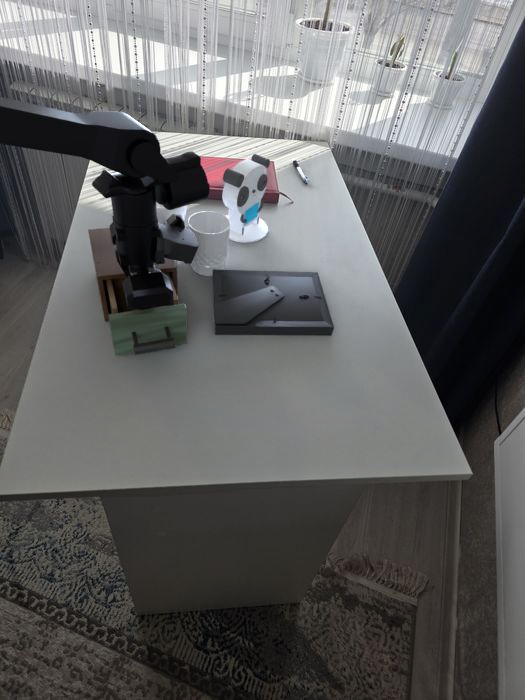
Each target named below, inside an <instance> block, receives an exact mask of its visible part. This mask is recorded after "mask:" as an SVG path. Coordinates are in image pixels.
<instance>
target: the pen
mask: <svg viewBox="0 0 525 700" xmlns="http://www.w3.org/2000/svg"><path fill="white" fill-rule="evenodd" d="M292 164H293V166H294V168H295V169H296V171H297V173H298V174H299V176H300V178H301V179H302V182H303V183H304V184H305V185H308V184H309V177H308V176H307V175H306V174H305V173H304V172H303V171H302V168H301V166H300V164H299V163H298V161H297V160H296V159H295V158H293V159H292Z"/></svg>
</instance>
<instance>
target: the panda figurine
mask: <svg viewBox="0 0 525 700" xmlns="http://www.w3.org/2000/svg"><path fill="white" fill-rule="evenodd" d="M270 165H271V160H270V159H269V158H267V157H264V156H262V155H260V154H256V153H253V154H252V156H251V158H250V159H247V158H246V159H243V160H241V161H239V162H238V163H236V164H235V165H234V166H233V167H232V168H226V169H225V170H224V171H223V174H222V181H223V182H224V184H223V188H222V202H223V204H224V206H225V207H226V208H228V214H227V215H225V216H226V217H227V218H228V219H229V220H230V222H231V227H230V235H229V241H233V242H237V243H243V244H244V243H246V244H247V243H255V242H259V241H261V240H263V239H264V238H266V237H267V235H268V232H269V228H268V225H267V223H266V222H265V221H264V220H263V219H262V218H260V212H261V211H262V209H263V207H264V204H265V203H264V199H263V197H264V195H265V192H266V189H267V186H268V178H269V177H268V168H269V167H270Z"/></svg>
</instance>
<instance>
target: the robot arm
mask: <svg viewBox="0 0 525 700" xmlns="http://www.w3.org/2000/svg"><path fill="white" fill-rule="evenodd" d="M0 145H3V146H4V145H5V146H10V147H17V148H23V149H30V150H35V151H42V152H48V153H54V154H60V155H66V156H72V157H77V158H78V157H79V158H83V159H86V160H88V161H91V162H93V163H95V164H98V165H99V166H102V167H104V169H103V170H102V171H101V173H100V174H99V175H98V176H97V177H95V179H94V180H93V181H92V182H91V186H92V188H94V189H95V190H96V191H97V192H98V193H99V194H100V195H101V196H102V197H103V198H105V199H110V202H111V209H112V216H111V217H112V222H111V223H110V224H109V225H108V226H109V227H108V228H110V234H111V239H112V243H113V245H116V248H117V250H115V254H116V258H117V262H118V263H119V265H120V267H121V269H122V270H123V272H124V274H125V275H126V277H127V278H126V279H125V280H124V281H123V282H122V283H123V288H124V292H125V297H126V301H127V306H128V308H130V309H132V310H135V309H139V310H143V309H150V308H151V307H156V306H163V305H170V304H171V303H172V302H173V301H174V300H173V289H172V286H171V283H170V280H169V277H168V276H167V275H165V274H164V273H162V272H161V271H160V270H159V269H155V267H154V263H156V264H165V258H167V259H171V260H174V261H175V262H176V261H177V262H181V263H184V264H186V265H191V263H192V261H193V259H194V257H195V254H196V252H197V249H198V247H199V243H198V241H197V239H196V236H195V234H194V233H193V232H192V231H191V230H190V228H189V227H188V226H186V225H185V219H184V220H183V218H182V216H181V215H177V214H172V215H171V216H170V217H169V218H168V219H167V220H166V221H164V223H163V224H158V219H157V210H156V202H157V203H158V204H160V205H163V206H164V207H165V208H166V209H168V210H173V209H176V208H180V207H183V206H187V205H188V206H190V205H194V204H196V203H200V202H203V201H205V200H206V201H207V198H208V197H209V195H210V189H211V188H210V183H209V180H208V176H207V173H206V171H205V168H204V167H203V165H202V163H201V162H202V157H201V156H200V155H199V154H197V153H196V152H194V151H193V150H190V151H186V152H183V153H182V154H179V155H174V156H170V157H164V156H163V155H162V154H161V152H162V151H161V150H162V148H161V144H160V140H159V139H158V136H157V135H156V134H155V133H154V132H153V131H151V130H150V129H149V128H147V127H146V126H144V125H143V124H141V123H140V122H139V121H137V120H136V119H134V118H133V117H132V116H130V115H129V114H127V113H125V112H124V111H112V110H111V111H109V110H94V111H89V112H88V111H87V112H84V113H83V112H82V113H81V112H80V113H77V112H76V113H75V112H70V111H65V110H60V109H57V108H53V107H48V106H43V105H39V104H35V103H30V102H26V101H21V100H17V99H14V98H13V99H12V98H8V97H4V96H0ZM107 169H108V170H107ZM109 170H110V171H113V172H114V173H111V172H110V171H109ZM164 257H165V258H164ZM150 272H151V273H150Z"/></svg>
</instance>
